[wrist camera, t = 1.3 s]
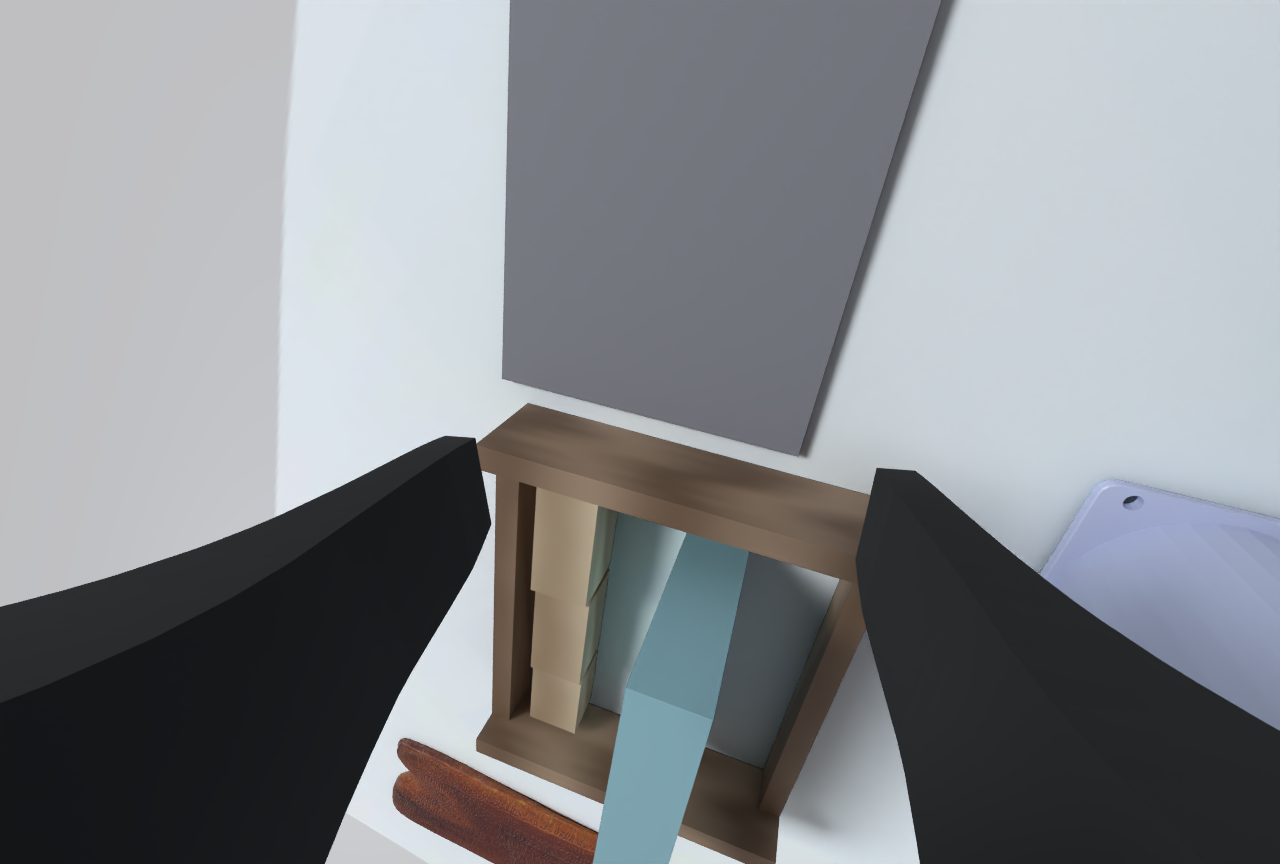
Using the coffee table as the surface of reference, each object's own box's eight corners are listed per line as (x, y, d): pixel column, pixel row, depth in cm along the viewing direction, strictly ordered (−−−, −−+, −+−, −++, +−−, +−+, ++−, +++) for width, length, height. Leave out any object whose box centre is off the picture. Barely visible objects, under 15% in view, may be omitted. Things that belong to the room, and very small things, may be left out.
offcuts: (625, 462, 23) (598, 500, 20) (590, 697, 30) (568, 748, 27) (569, 446, 24) (536, 481, 21) (548, 681, 31) (522, 729, 28)
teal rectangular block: (753, 530, 23) (713, 720, 15) (699, 716, 28) (649, 925, 21) (694, 512, 23) (625, 687, 15) (652, 699, 29) (586, 896, 21)
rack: (901, 504, 20) (915, 574, 17) (777, 788, 29) (769, 874, 25) (527, 403, 23) (475, 444, 20) (514, 687, 32) (476, 751, 28)
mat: (981, -133, 13) (985, -142, 13) (798, 451, 21) (798, 456, 20) (520, -154, 16) (513, -161, 15) (507, 375, 23) (502, 378, 23)
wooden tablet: (399, 796, 43) (384, 818, 42) (404, 720, 38) (387, 742, 37) (725, 969, 39) (721, 999, 38) (777, 909, 34) (775, 942, 33)
